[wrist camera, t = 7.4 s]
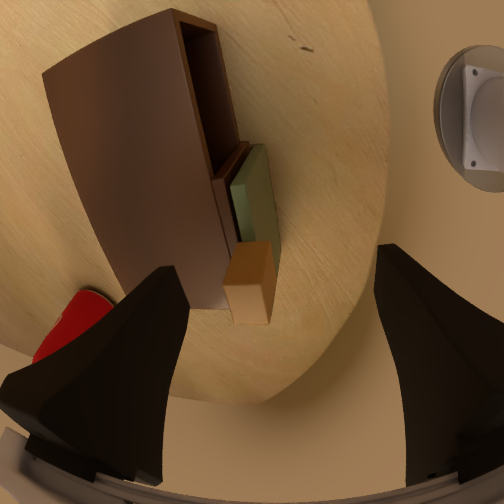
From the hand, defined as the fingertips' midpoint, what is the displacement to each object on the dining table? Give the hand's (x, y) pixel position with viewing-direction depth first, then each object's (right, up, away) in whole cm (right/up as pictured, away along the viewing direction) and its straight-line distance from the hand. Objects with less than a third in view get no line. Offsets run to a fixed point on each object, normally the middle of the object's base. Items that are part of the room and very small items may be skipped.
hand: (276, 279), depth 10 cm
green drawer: (0, +4, +9) cm, 10 cm away
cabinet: (-6, +8, +9) cm, 13 cm away
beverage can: (-18, -5, +21) cm, 28 cm away
